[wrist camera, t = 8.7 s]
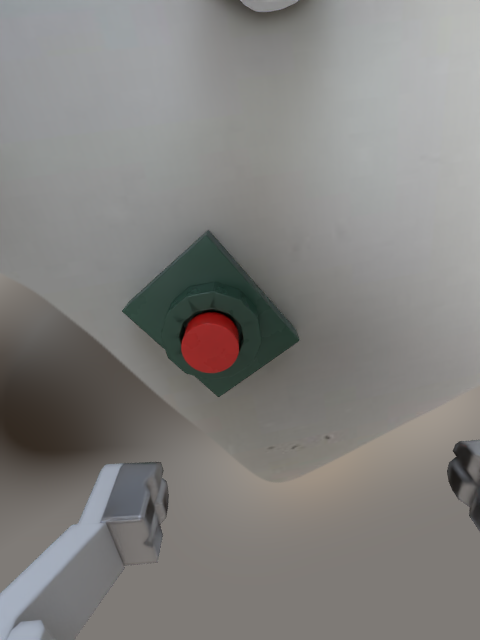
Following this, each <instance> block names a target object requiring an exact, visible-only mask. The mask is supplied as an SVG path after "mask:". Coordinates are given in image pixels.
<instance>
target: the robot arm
mask: <svg viewBox="0 0 480 640" xmlns="http://www.w3.org/2000/svg"><path fill="white" fill-rule="evenodd" d="M453 452H454V453H455V455H456V456H457V457H455V458H454V459H453V460H452V461H451V462H449V465H448V470H447V474H448V480H449V483H450V486H451V488H452V490H453V492H454V493H455V495H456V496H457V498H458V499H459V500H460V501H461V502H463V503H464V504H466V505H467V506H469V507H470V510H469V516H470V518H471V519H472V521H473V522H474V524H475V525H476V527H477V528H478V530H479V531H480V440H471V441H460V442H458V443H457V444H456V445H455V447H454V449H453ZM162 475H163V467H162V464H161V462H145V463H122V464H106V465H105V466H104V467H103V468H102V470H101V471H100V473H99V476H98V478H97V480H96V483H95V485H94V487H93V490H92V492H91V495H90V497H89V499H88V501H87V504H86V506H85V508H84V511H83V513H82V515H81V518H80V520H79V522H78V524H75V525H71V526H70V527H69V528H68V529H67V530H66V531H65V532H64V533H63V534H62V535H61V536H60V537H59V538H58V539H57V540H56V541H55V542H53V543H52V544H51V545H50V546H49V547H48V548H47V549H46V550H45V551H44V552H43V553H42V554H41V555H40V556H39V557H38V558H37V559H36V560H35V561H34V562H32V563H31V564H30V565H29V566H28V567H27V568H26V569H25V570H24V571H23V572H22V573H21V574H20V575H19V576H18V577H17V578H16V579H15V580H14V581H13V582H12V583H11V584H9V585H8V586H7V587H6V588H5V589H4V590H3V591H2V592H1V593H0V640H74V639H75V638H76V636H77V635H78V634H79V632H80V631H81V629H82V628H83V627H84V625H85V624H86V622H87V621H88V620H89V618H90V617H91V615H92V614H93V612H94V611H95V610H96V608H97V607H98V605H99V604H100V603H101V601H102V600H103V598H104V597H105V595H106V594H107V592H108V591H109V590H110V588H111V587H112V585H113V584H114V583H115V581H116V580H117V578H118V577H119V575H120V574H121V573H122V571H123V570H124V568H125V567H124V566H127V565H138V564H148V563H157V562H158V558H159V553H160V548H161V542H162V537H163V534H162V530H161V527H160V525H161V523H162V522H163V521H164V520H165V518H166V515H167V509H168V497H169V494H168V486H167V482H166V480H164V479H163V478H162Z"/></svg>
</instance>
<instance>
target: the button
mask: <svg viewBox="0 0 480 640" xmlns="http://www.w3.org/2000/svg"><path fill="white" fill-rule="evenodd" d="M181 351H182V355H183V357H184V359H185V360H186V362H187V363H188V364H189V365H190V366H191V367H193V368H194V369H196V370H198V371H201V372H205V373H217V372H221V371H224V370H226V369H227V368H229V367H230V366H231V365H232V364H233V363H234V362H235V361H236V359H237V357H238V354H239V333H238V329H237V327H236V325H235V323H234V322H233V321H232V320H231V319H230V318H229V317H227V316H225V315H224V314H221V313H217V312H205V313H201V314H199V315H197V316H195V317H194V318H193V319H191V320H190V322H189V323H188V325H187V327H186V330H185V333H184V336H183V340H182V344H181Z"/></svg>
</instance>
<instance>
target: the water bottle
mask: <svg viewBox="0 0 480 640" xmlns="http://www.w3.org/2000/svg"><path fill="white" fill-rule="evenodd" d="M240 1H241V2H242V3H243V4H244V5H245V6H247V7H249V8H250V9H252V10H254V11H256V12H271V11H276V10H281V9H284V8H286V7H288V6H290V5H293V4H295V3H296V2H298V1H299V0H240Z"/></svg>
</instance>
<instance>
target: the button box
mask: <svg viewBox="0 0 480 640" xmlns="http://www.w3.org/2000/svg"><path fill="white" fill-rule="evenodd" d="M122 312H123V313H125V314H126V315H127V316H128V317H129V318H130V319H131V320H132V321H134V322H135V323H136V324H137V325H138V326H139V327H140V328H141V329H143V330H144V331H145V332H146V333H147V334H148V335H149V336H150V337H152V338H153V339H154V340H155V341H156V342H157V343H158V344H159V345H161V346H162V347H163V348H164V349H165V350H166V353H167V356H168V358H169V359H170V360H171V361H172V362H174V363H175V364H176V365H177V366H178V367H179V368H180V369H181V370H183V371H184V372H185V373H187V374H190V375H194V376H195V377H196V378H198V379H199V380H200V381H201V382H202V383H203V384H204V385H205V386H207V387H208V388H209V389H210V390H211V391H212V392H213V393H214V394H216V395H217V396H218V397H220V396H221V395H223V394H224V393H226V392H227V391H228V390H230V389H231V388H233V387H234V386H236V385H237V384H238V383H240V382H241V381H243V380H244V379H245V378H247V377H248V376H250V375H251V374H253V373H254V372H255V371H257V370H258V369H260V368H261V367H263V366H264V365H265V364H267V363H268V362H270V361H271V360H273V359H274V358H275V357H277V356H278V355H280V354H281V353H283V352H284V351H285V350H287V349H288V348H290V347H291V346H292V345H294V344H295V343H297V342H298V341H299V337H298V334H297V331H296V329H295V328H294V327H293V326H292V325H291V324H290V322H289V321H288V320H287V319H286V318H285V317H284V316H283V314H282V313H281V312H280V311H279V310H278V309H277V308H276V306H275V305H274V304H273V303H272V302H271V301H270V300H269V299H268V297H267V296H266V295H265V294H264V293H263V292H262V291H261V289H260V288H259V287H258V286H257V285H256V284H255V283H254V281H253V280H252V279H251V278H250V277H249V276H248V275H247V273H246V272H245V271H244V270H243V269H242V268H241V267H240V266H239V264H238V263H237V262H236V261H235V260H234V259H233V258H232V256H231V255H230V254H229V253H228V252H227V251H226V250H225V248H224V247H223V246H222V245H221V244H220V243H219V242H218V241H217V239H216V238H215V237H214V236H213V235H212V234H211V233H210V231H207V232H205V233H204V234H203V235H202V236H201V237H200V238H199V239H198V240H197V241H196V242H194V243H193V244H192V245H191V246H190V247H189V248H188V249H187V250H186V251H185V252H183V253H182V254H181V255H180V256H179V257H178V258H177V259H176V260H175V261H173V262H172V263H171V264H170V265H169V266H168V267H167V268H166V269H165V270H164V271H162V272H161V273H160V274H159V275H158V276H157V277H156V278H155V279H154V280H153V281H151V282H150V283H149V284H148V285H147V286H146V287H145V288H144V289H143V290H141V291H140V292H139V293H138V294H137V295H136V296H135V297H134V298H133V299H132V300H130V301H129V303H128V304H127V305H126V306H125V308H124V309H123V310H122ZM205 312H217V313H221V314H224V315H225V316H227V317H229V318H230V319H231V320H232V321H233V322H234V323H235V325H236V327H237V329H238V333H239V354H238V357H237V359H236V361H235V362H234V363H233V364H232V365H231V366H230V367H229V368H227V369H226V370H224V371H221V372H217V373H205V372H201V371H198V370H196V369H194V368H193V367H191V366H190V365H189V364H188V363H187V362H186V360H185V359H184V357H183V355H182V351H181V344H182V340H183V336H184V333H185V330H186V327H187V325H188V323H189V322H190V320H191V319H193V318H194V317H195V316H197V315H199V314H201V313H205Z"/></svg>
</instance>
